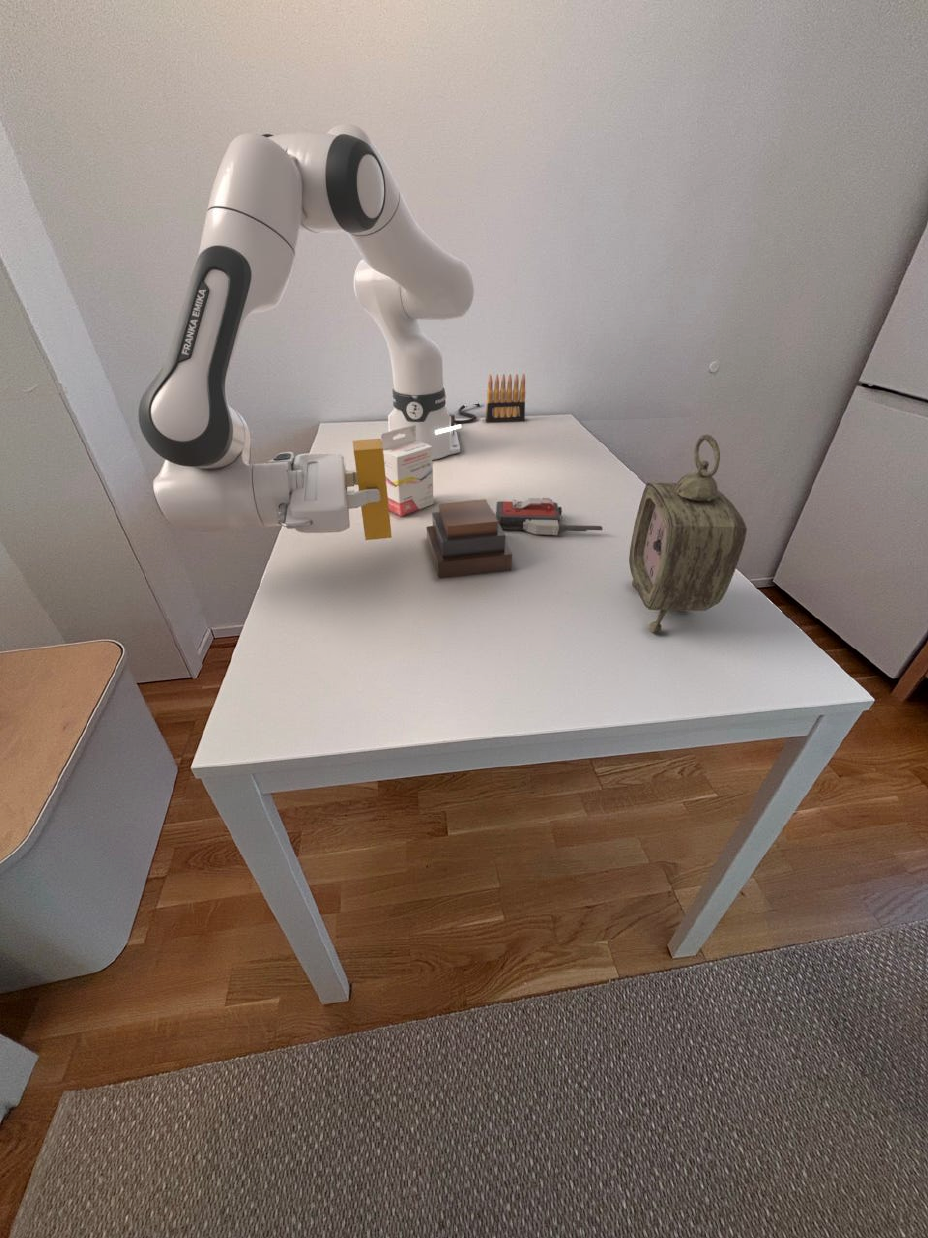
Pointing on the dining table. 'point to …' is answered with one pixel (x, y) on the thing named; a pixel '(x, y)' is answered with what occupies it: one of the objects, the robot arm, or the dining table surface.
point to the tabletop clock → (685, 542)
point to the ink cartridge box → (407, 471)
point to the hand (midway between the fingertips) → (378, 486)
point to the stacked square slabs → (467, 540)
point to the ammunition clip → (505, 400)
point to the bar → (372, 475)
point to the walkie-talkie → (535, 517)
